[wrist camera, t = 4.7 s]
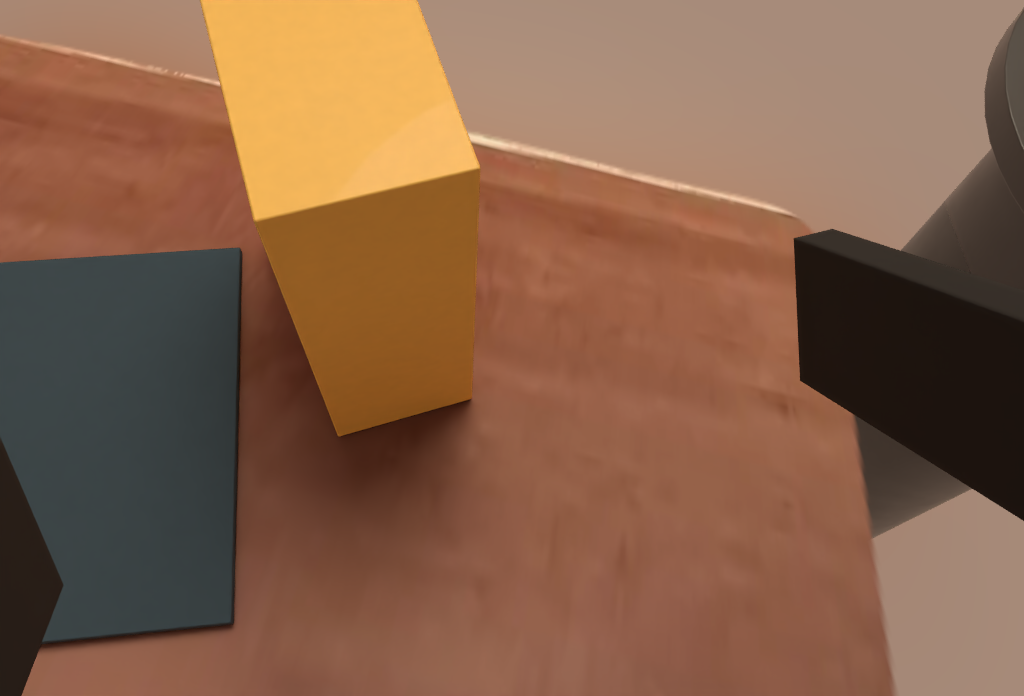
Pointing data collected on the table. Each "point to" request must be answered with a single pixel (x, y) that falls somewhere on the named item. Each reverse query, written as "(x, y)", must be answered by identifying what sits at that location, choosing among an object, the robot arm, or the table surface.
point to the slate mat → (127, 432)
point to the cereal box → (357, 195)
